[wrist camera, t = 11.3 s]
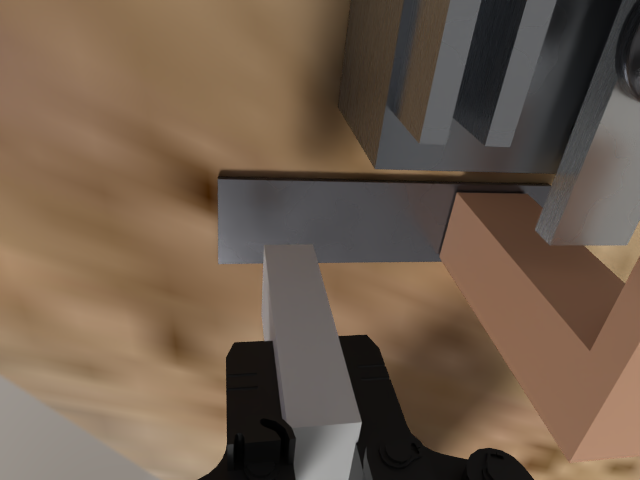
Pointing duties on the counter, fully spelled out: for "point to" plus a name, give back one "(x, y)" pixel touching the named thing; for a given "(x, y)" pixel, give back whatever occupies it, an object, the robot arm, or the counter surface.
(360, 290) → the counter surface
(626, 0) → the lever with knob
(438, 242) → the grey latch fixture
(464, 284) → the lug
